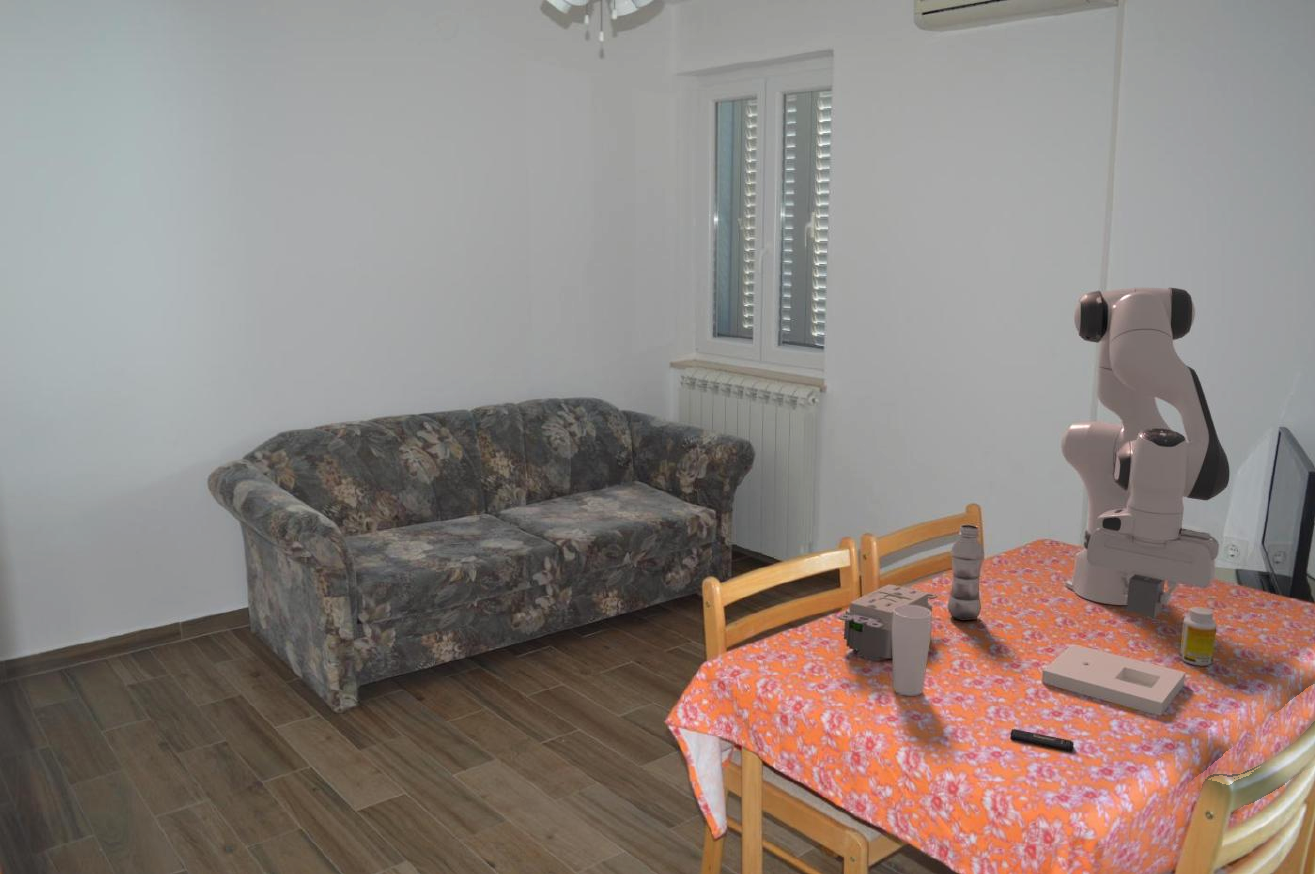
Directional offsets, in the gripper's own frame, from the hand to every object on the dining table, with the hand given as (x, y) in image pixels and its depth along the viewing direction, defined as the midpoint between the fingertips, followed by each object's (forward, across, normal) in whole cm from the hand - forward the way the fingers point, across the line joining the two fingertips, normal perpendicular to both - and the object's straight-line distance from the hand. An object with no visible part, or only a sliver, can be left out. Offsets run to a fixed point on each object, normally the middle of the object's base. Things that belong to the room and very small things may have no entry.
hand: (1145, 599), depth 179 cm
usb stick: (+18, +6, +30) cm, 36 cm away
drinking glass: (+17, +31, +27) cm, 44 cm away
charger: (+2, 0, 0) cm, 2 cm away
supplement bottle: (+17, -5, -21) cm, 28 cm away
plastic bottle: (+17, +38, -13) cm, 44 cm away
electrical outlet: (+17, +44, +10) cm, 48 cm away
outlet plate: (+17, +4, 0) cm, 17 cm away
